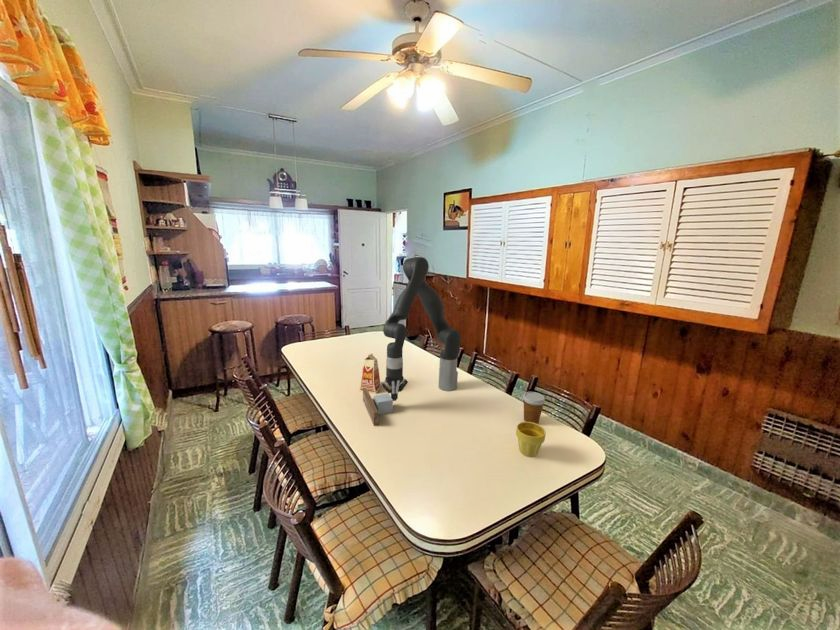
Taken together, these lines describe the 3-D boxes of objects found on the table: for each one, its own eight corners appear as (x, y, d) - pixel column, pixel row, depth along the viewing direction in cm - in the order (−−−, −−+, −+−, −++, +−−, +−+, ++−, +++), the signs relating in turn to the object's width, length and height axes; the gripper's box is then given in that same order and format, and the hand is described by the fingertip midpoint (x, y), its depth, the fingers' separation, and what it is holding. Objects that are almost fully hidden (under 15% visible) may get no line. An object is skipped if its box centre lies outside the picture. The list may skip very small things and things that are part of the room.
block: (388, 404, 155) (388, 393, 154) (392, 412, 149) (392, 400, 148) (373, 407, 153) (373, 395, 151) (377, 414, 146) (377, 402, 145)
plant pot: (527, 463, 117) (529, 439, 115) (508, 446, 126) (511, 424, 124) (548, 456, 121) (552, 433, 119) (529, 441, 130) (532, 419, 128)
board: (366, 399, 160) (366, 388, 159) (378, 425, 138) (378, 412, 137) (362, 399, 159) (362, 388, 158) (373, 425, 137) (373, 413, 136)
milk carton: (375, 393, 166) (375, 356, 162) (358, 391, 168) (358, 355, 163) (381, 386, 175) (381, 351, 170) (365, 384, 177) (364, 349, 172)
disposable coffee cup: (515, 417, 148) (518, 393, 145) (532, 413, 152) (534, 389, 149) (530, 428, 140) (533, 402, 137) (547, 424, 143) (550, 399, 141)
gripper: (405, 360, 154) (405, 394, 158) (378, 363, 149) (378, 398, 153) (411, 366, 147) (410, 401, 151) (382, 370, 142) (382, 406, 146)
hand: (394, 400), depth 152 cm, fingers closed
